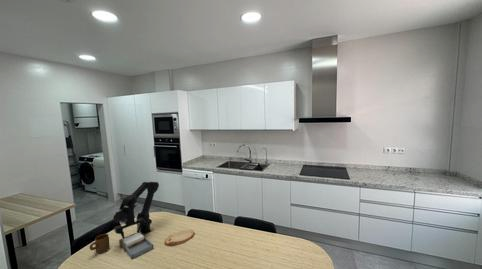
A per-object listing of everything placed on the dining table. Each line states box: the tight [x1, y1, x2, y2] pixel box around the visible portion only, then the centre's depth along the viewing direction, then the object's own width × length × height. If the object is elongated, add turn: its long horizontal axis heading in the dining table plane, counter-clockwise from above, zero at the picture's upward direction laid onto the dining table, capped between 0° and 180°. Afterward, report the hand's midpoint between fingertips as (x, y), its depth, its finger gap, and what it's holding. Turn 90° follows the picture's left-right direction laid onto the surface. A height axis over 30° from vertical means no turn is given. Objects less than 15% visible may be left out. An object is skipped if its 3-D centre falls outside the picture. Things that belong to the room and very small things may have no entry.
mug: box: [89, 233, 110, 255], centre depth 128 cm, size 12×8×9 cm, turn 165°
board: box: [119, 231, 148, 252], centre depth 138 cm, size 14×12×3 cm
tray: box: [125, 238, 155, 260], centre depth 130 cm, size 13×12×3 cm
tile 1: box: [122, 231, 141, 244], centre depth 137 cm, size 11×4×2 cm, turn 137°
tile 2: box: [125, 234, 144, 246], centre depth 134 cm, size 11×4×2 cm, turn 137°
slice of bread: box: [164, 229, 195, 247], centre depth 142 cm, size 18×18×4 cm
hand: (130, 236), depth 139 cm, fingers open, 9 cm apart
